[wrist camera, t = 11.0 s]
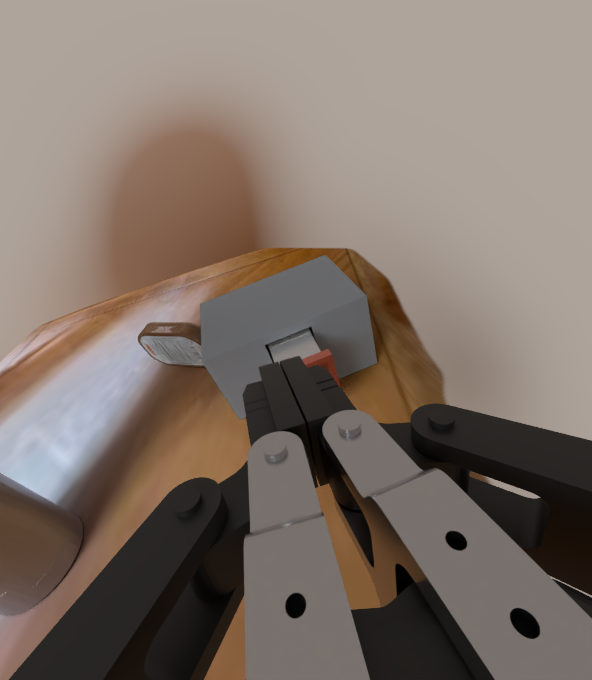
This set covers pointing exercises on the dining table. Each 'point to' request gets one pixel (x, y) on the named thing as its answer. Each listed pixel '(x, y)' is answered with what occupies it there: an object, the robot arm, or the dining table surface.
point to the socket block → (285, 325)
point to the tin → (173, 343)
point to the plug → (303, 351)
